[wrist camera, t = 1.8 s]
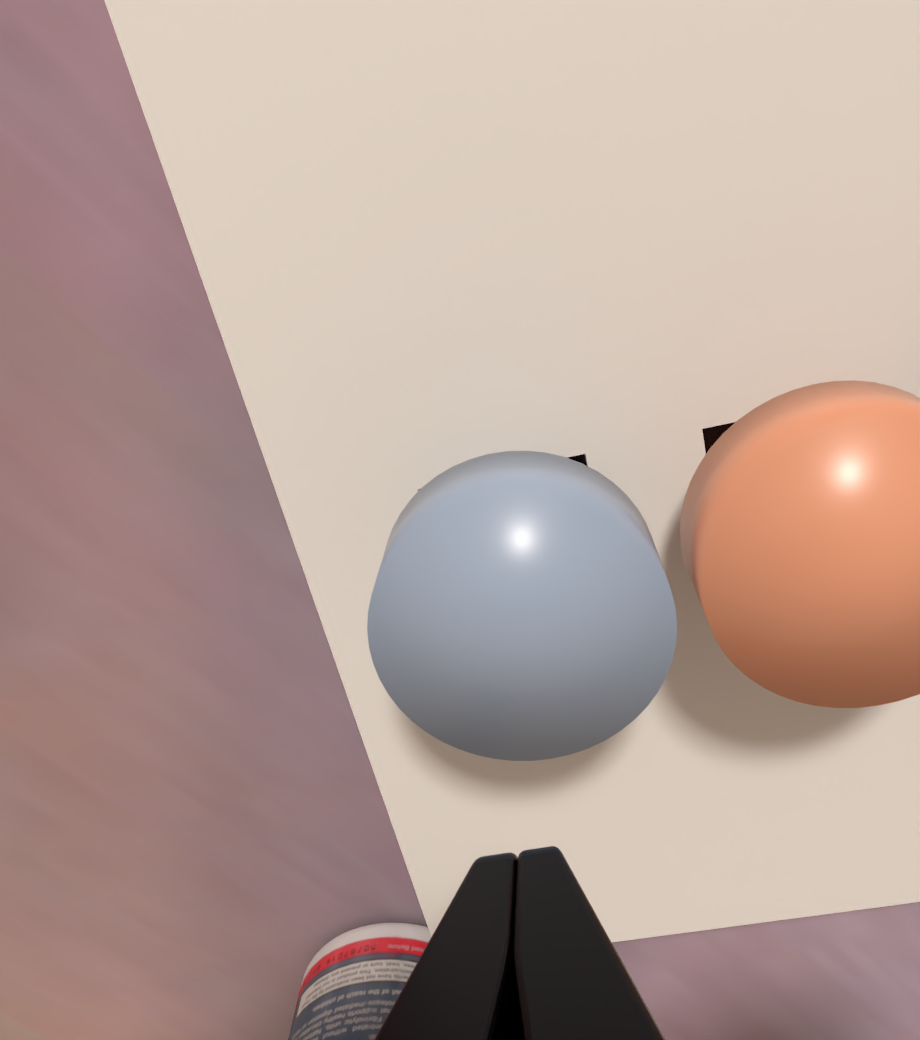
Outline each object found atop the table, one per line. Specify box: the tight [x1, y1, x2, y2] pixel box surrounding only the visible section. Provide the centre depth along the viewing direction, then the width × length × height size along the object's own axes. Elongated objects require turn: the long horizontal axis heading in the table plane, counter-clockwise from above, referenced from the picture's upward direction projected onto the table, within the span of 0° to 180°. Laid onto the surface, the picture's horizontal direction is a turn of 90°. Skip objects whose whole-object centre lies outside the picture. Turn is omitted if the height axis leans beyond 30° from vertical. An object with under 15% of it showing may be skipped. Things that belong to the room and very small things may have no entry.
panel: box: [104, 0, 920, 942], centre depth 16 cm, size 18×20×2 cm
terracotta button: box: [680, 380, 920, 708], centre depth 14 cm, size 5×5×4 cm
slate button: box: [367, 451, 677, 761], centre depth 15 cm, size 5×5×4 cm
